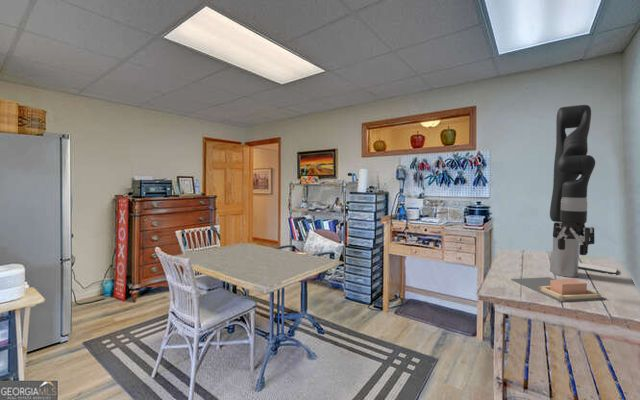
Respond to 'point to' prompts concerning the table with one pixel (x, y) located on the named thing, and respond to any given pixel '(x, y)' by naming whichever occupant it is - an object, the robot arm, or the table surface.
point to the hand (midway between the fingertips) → (571, 252)
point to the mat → (544, 287)
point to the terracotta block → (568, 286)
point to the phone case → (597, 268)
